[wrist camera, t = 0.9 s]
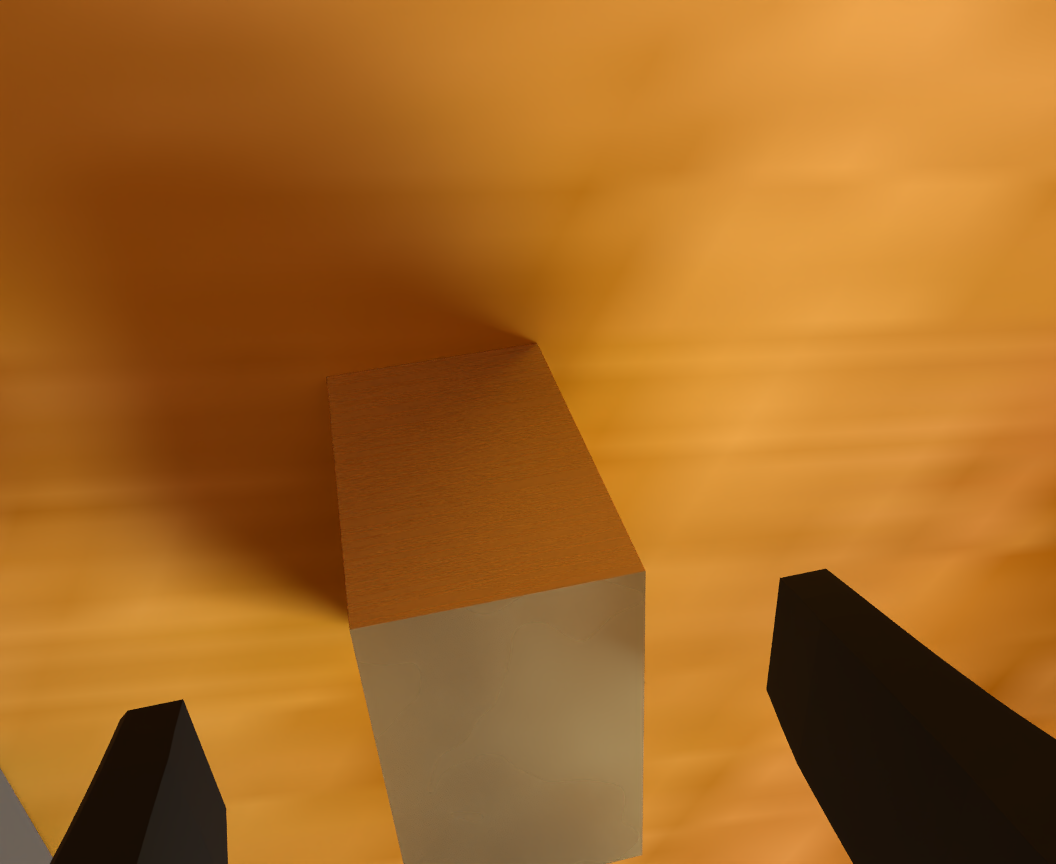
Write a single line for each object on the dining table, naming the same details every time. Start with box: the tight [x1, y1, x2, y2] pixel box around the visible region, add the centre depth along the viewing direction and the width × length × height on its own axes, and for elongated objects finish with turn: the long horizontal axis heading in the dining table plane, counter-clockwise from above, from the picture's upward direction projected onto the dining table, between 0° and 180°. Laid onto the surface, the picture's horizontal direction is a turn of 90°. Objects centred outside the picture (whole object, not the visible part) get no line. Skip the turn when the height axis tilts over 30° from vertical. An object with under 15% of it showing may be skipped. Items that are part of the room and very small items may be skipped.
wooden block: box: [327, 343, 645, 864], centre depth 13 cm, size 5×3×5 cm, turn 4°
